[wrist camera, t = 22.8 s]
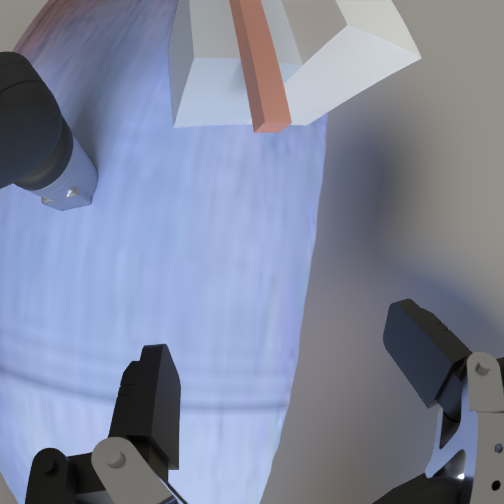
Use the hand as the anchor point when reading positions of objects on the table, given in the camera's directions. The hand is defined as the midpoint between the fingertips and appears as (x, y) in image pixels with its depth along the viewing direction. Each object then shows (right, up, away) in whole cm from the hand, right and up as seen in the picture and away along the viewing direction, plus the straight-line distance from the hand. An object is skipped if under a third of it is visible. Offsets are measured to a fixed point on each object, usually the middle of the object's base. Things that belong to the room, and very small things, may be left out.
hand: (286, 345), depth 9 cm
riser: (-4, +38, +40) cm, 55 cm away
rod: (-2, +30, +18) cm, 35 cm away
